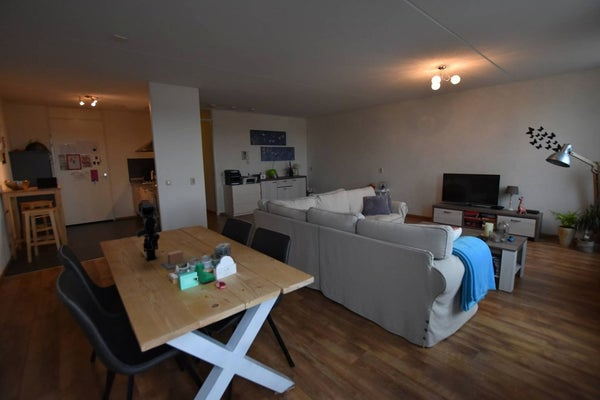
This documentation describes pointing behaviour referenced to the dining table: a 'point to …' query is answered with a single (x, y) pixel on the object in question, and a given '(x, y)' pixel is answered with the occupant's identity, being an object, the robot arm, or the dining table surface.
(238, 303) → the dining table surface
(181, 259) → the housing
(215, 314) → the dining table surface
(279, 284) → the dining table surface
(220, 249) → the light bulb box
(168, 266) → the base plate
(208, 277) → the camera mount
